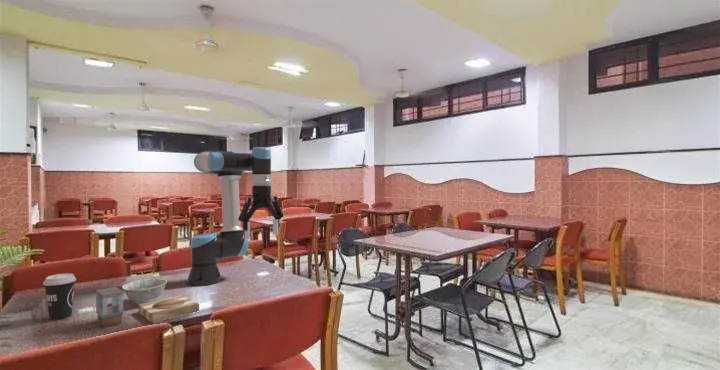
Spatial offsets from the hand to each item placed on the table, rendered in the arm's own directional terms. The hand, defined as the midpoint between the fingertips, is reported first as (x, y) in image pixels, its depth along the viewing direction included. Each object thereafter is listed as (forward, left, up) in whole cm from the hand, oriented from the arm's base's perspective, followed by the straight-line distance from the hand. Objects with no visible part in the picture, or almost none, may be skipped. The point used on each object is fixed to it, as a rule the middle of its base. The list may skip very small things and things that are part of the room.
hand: (261, 236), depth 157 cm
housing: (-18, -50, -23) cm, 58 cm away
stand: (-18, -50, -26) cm, 59 cm away
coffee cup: (-37, -61, -27) cm, 76 cm away
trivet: (-13, -32, -26) cm, 44 cm away
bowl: (-33, -34, -27) cm, 55 cm away
